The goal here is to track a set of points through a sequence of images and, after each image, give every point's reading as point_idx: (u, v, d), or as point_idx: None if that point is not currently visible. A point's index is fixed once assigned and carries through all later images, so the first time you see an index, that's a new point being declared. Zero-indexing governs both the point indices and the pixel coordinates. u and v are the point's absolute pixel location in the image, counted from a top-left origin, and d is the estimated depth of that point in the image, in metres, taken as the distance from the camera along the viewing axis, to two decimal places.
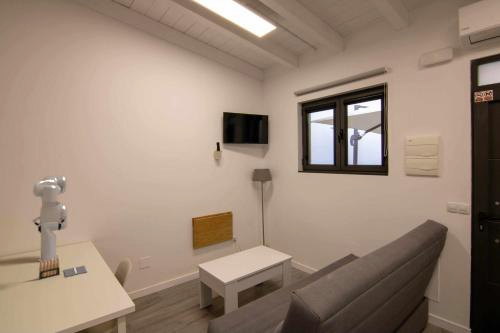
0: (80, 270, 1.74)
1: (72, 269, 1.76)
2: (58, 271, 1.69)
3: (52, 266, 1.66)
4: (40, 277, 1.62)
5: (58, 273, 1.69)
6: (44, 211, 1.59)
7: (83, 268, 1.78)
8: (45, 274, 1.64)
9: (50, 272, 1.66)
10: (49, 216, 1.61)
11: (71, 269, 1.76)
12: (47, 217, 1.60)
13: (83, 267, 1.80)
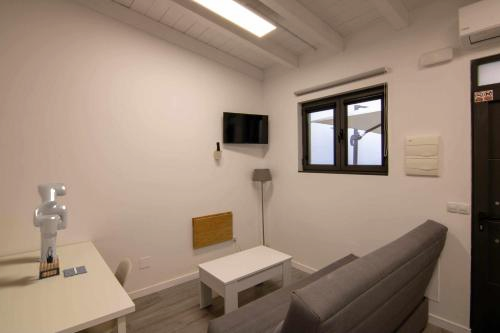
0: (80, 270, 1.74)
1: (72, 269, 1.76)
2: (58, 271, 1.69)
3: (52, 266, 1.66)
4: (40, 277, 1.62)
5: (58, 273, 1.69)
6: (54, 241, 1.65)
7: (83, 268, 1.78)
8: (45, 274, 1.64)
9: (50, 272, 1.66)
10: None
11: (71, 269, 1.76)
12: None
13: (83, 267, 1.80)
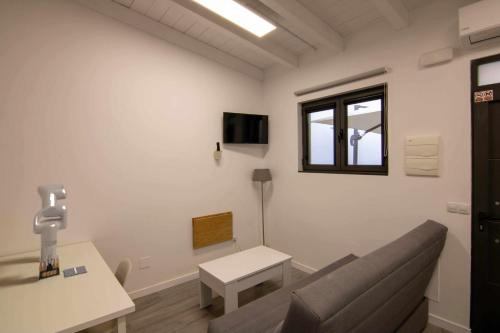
0: (80, 270, 1.74)
1: (72, 269, 1.76)
2: (58, 271, 1.68)
3: None
4: (40, 277, 1.62)
5: (58, 273, 1.68)
6: (54, 249, 1.65)
7: (83, 268, 1.78)
8: (45, 274, 1.64)
9: (50, 272, 1.66)
10: None
11: (71, 269, 1.76)
12: None
13: (83, 267, 1.80)
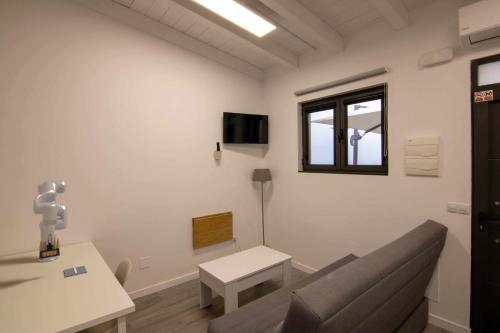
0: (80, 270, 1.74)
1: (72, 269, 1.76)
2: (58, 252, 1.69)
3: None
4: (40, 257, 1.63)
5: (58, 254, 1.69)
6: (54, 228, 1.65)
7: (83, 268, 1.78)
8: (45, 254, 1.64)
9: (50, 252, 1.66)
10: None
11: (71, 269, 1.76)
12: None
13: (83, 267, 1.80)
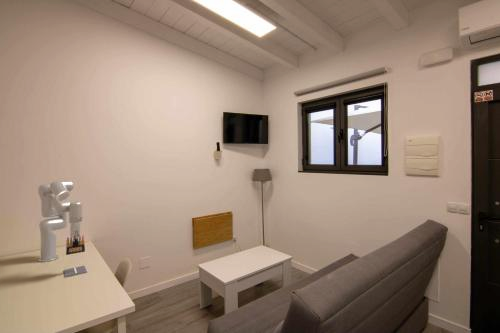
0: (80, 270, 1.74)
1: (72, 269, 1.76)
2: (83, 248, 1.76)
3: None
4: (67, 252, 1.70)
5: (83, 250, 1.76)
6: None
7: (83, 268, 1.78)
8: (71, 250, 1.72)
9: (76, 248, 1.74)
10: None
11: (71, 269, 1.76)
12: None
13: (83, 267, 1.80)
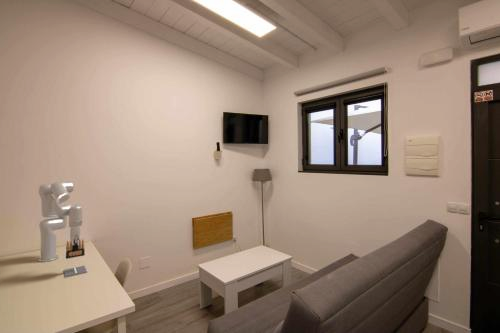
0: (80, 270, 1.74)
1: (72, 269, 1.76)
2: (83, 252, 1.76)
3: None
4: (67, 256, 1.70)
5: (83, 254, 1.76)
6: None
7: (83, 268, 1.78)
8: (71, 254, 1.72)
9: (76, 252, 1.74)
10: None
11: (71, 269, 1.76)
12: None
13: (83, 267, 1.80)
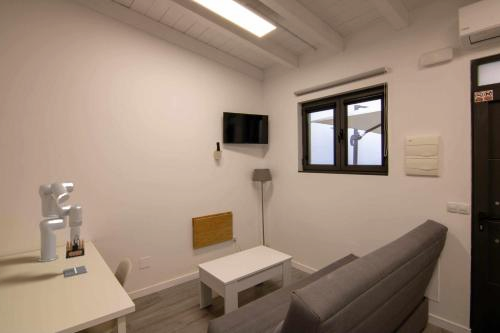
0: (80, 270, 1.74)
1: (72, 269, 1.76)
2: (83, 252, 1.76)
3: None
4: (67, 256, 1.70)
5: (83, 254, 1.76)
6: None
7: (83, 268, 1.78)
8: (71, 254, 1.72)
9: (76, 252, 1.74)
10: None
11: (71, 269, 1.76)
12: None
13: (83, 267, 1.80)
